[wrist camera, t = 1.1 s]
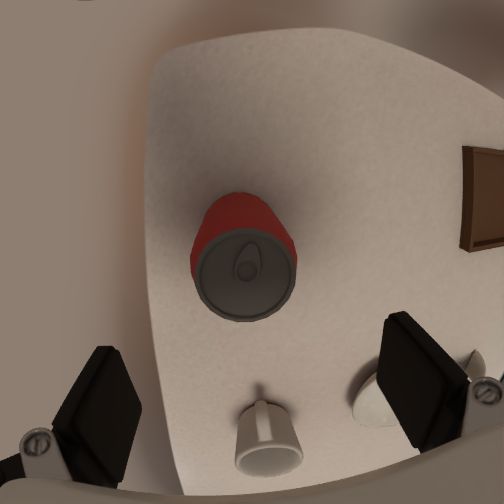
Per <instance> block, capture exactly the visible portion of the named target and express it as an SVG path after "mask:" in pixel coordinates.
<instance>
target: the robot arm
mask: <svg viewBox="0 0 504 504" xmlns="http://www.w3.org/2000/svg"><path fill="white" fill-rule="evenodd" d="M467 378H468V375H467V374H466V373H465V372H464V371H463V370H462V369H461V368H460V367H459V365H458V364H457V363H456V362H455V361H454V360H453V359H452V358H451V357H450V356H449V355H448V354H447V353H446V352H445V351H444V350H443V349H442V348H441V346H440V345H439V344H438V343H437V342H436V341H435V340H434V339H433V338H432V337H431V336H430V335H429V334H428V333H427V332H426V331H425V330H424V329H423V328H422V327H421V326H420V325H419V324H418V323H417V322H416V321H415V320H414V319H413V318H412V317H411V316H410V315H409V314H408V313H407V312H405V311H401V312H397V313H392V314H390V315H389V316H388V319H385V321H384V327H383V335H382V342H381V349H380V356H379V362H378V368H377V374H376V381H377V384H378V386H379V388H380V390H381V392H382V393H383V395H384V397H385V398H386V400H387V402H388V404H389V405H390V407H391V409H392V411H393V412H394V414H395V416H396V418H397V419H398V421H399V423H400V425H401V427H402V428H403V430H404V432H405V434H406V436H407V437H408V439H409V441H410V443H411V445H412V446H413V447H414V448H418V450H419V451H420V453H421V454H420V455H417V456H414V457H412V458H409V459H406V460H403V461H401V462H398V463H395V464H392V465H389V466H386V467H383V468H380V469H377V470H374V471H370V472H367V473H364V474H360V475H356V476H353V477H349V478H345V479H341V480H337V481H332V482H328V483H323V484H318V485H313V486H308V487H302V488H296V489H289V490H282V491H275V492H266V493H256V494H243V495H222V496H186V495H166V494H152V493H143V492H135V491H126V490H120V489H117V486H118V482H119V483H120V482H122V480H123V477H124V473H125V469H126V466H127V462H128V458H129V454H130V451H131V447H132V444H133V440H134V436H135V433H136V430H137V426H138V423H139V419H140V416H141V412H142V405H141V402H140V400H139V398H138V396H137V393H136V391H135V389H134V386H133V384H132V382H131V379H130V377H129V374H128V372H127V370H126V367H125V364H124V362H123V360H122V357H121V354H120V352H119V351H118V350H115V348H114V347H113V346H97V347H96V349H95V350H94V352H93V354H92V355H91V357H90V358H89V360H88V362H87V363H86V365H85V367H84V368H83V370H82V371H81V373H80V375H79V376H78V378H77V380H76V382H75V383H74V385H73V386H72V388H71V390H70V392H69V393H68V395H67V397H66V399H65V400H64V402H63V404H62V406H61V407H60V409H59V411H58V413H57V415H56V417H55V418H54V420H53V422H52V425H53V429H52V430H51V431H50V430H49V429H46V428H35V429H32V430H30V431H29V432H27V433H26V434H25V435H24V436H23V438H22V439H21V441H20V445H19V448H20V449H19V450H20V453H18V454H16V455H14V456H11V457H9V458H7V459H4V460H2V461H0V504H504V385H503V384H502V383H501V382H500V381H498V380H496V379H494V378H491V377H479V378H476V379H475V380H473V381H472V382H470V381H469V380H468V379H467Z"/></svg>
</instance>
